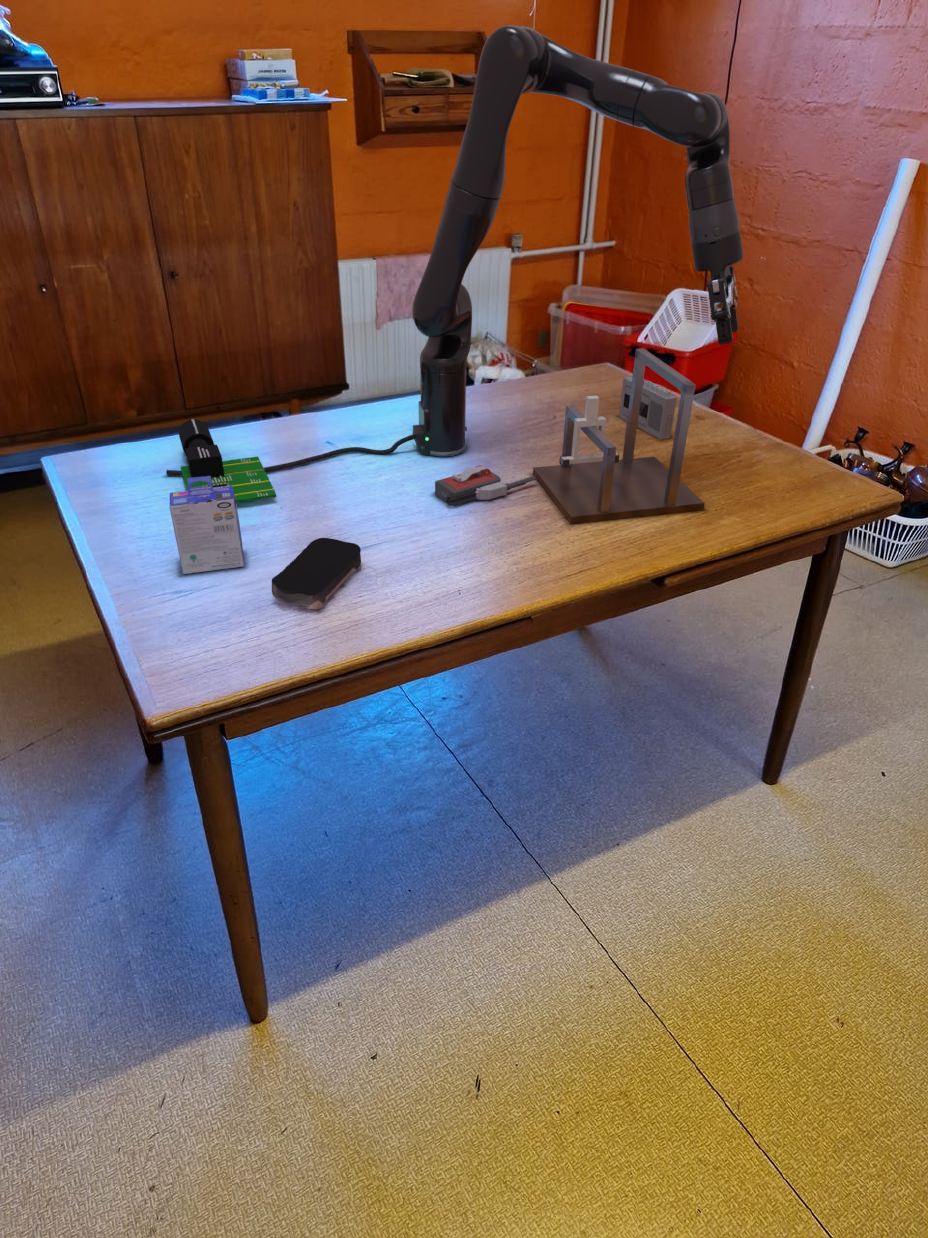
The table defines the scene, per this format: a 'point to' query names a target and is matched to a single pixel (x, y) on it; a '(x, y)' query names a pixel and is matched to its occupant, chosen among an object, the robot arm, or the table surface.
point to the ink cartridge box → (206, 527)
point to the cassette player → (650, 408)
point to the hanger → (587, 421)
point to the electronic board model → (221, 465)
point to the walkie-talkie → (474, 486)
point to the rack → (624, 464)
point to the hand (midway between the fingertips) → (728, 337)
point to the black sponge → (316, 572)
